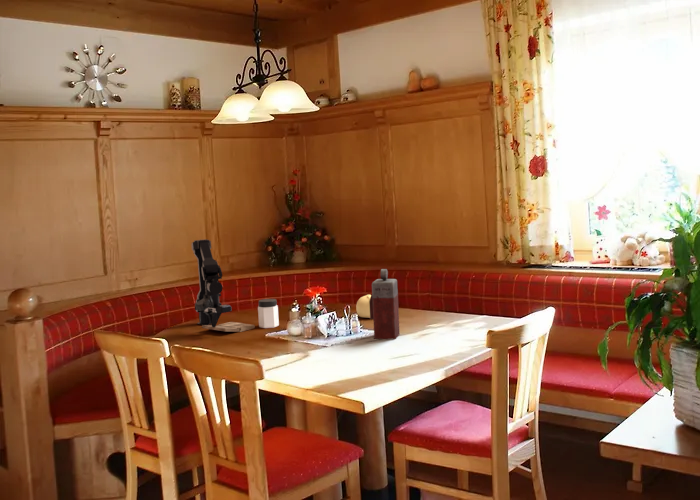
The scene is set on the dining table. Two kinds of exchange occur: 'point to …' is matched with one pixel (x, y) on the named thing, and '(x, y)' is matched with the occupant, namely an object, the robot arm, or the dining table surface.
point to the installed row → (238, 326)
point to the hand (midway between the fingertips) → (213, 327)
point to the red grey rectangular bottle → (385, 307)
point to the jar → (268, 313)
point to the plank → (220, 328)
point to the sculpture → (363, 306)
